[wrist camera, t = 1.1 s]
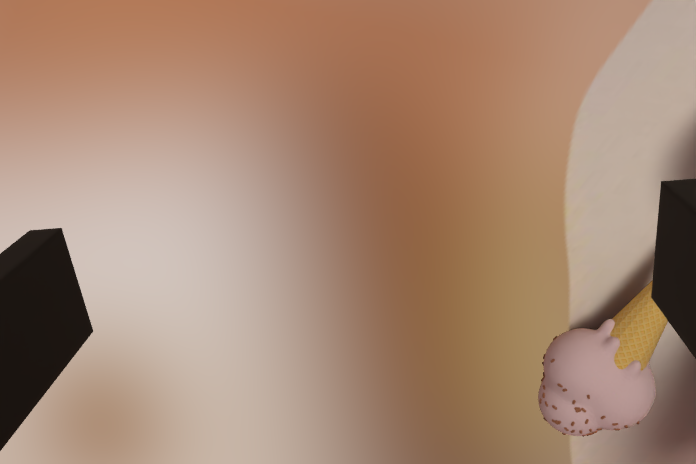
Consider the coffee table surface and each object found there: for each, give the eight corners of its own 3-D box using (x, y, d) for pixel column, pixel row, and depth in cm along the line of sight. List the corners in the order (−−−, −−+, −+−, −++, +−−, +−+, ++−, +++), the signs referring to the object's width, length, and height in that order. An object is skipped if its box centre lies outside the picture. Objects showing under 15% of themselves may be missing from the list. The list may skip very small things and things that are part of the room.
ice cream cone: (710, 227, 40) (583, 401, 47) (623, 198, 38) (501, 386, 44) (781, 281, 35) (628, 468, 42) (686, 252, 33) (539, 455, 39)
